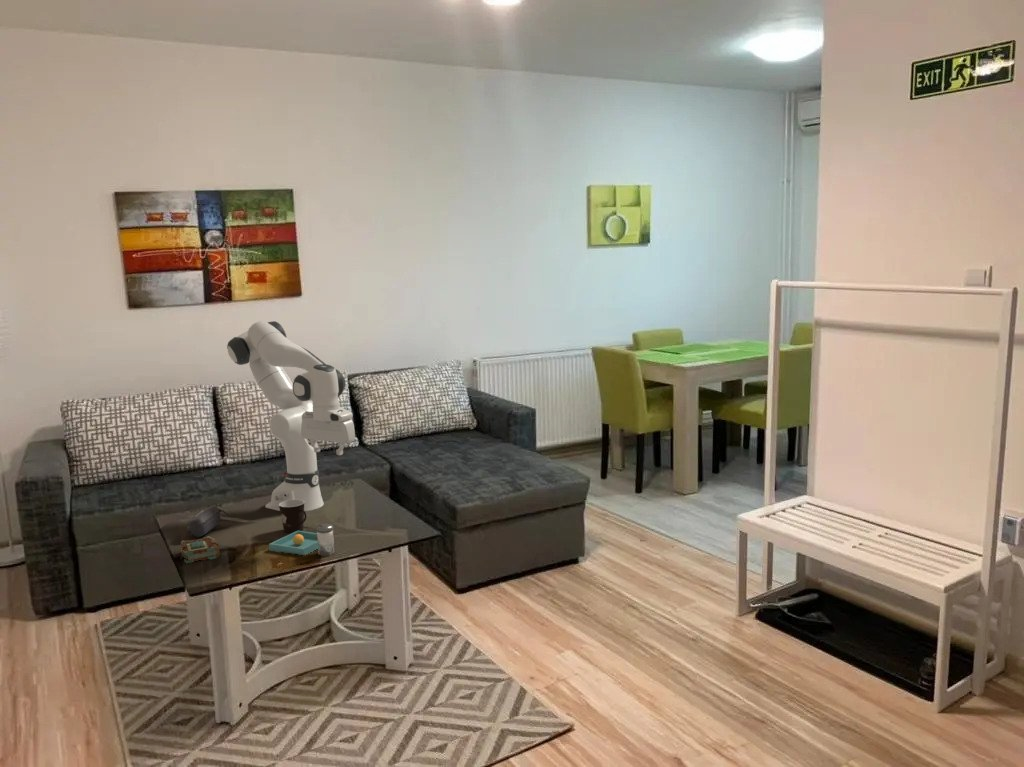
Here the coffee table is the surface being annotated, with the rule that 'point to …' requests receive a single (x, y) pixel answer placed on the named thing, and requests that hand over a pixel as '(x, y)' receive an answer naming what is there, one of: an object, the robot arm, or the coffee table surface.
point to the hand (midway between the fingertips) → (328, 453)
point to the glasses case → (204, 521)
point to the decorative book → (200, 549)
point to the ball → (298, 539)
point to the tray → (289, 546)
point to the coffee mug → (292, 515)
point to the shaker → (325, 539)
